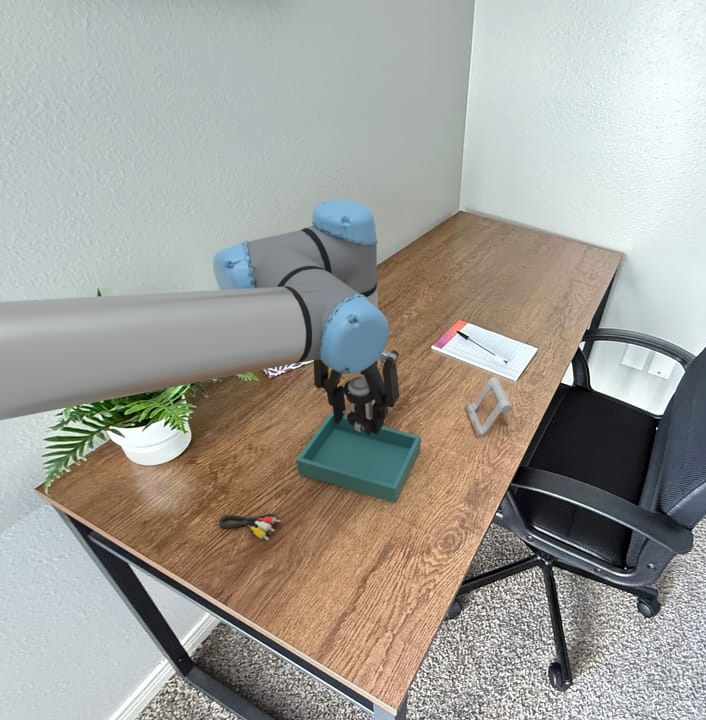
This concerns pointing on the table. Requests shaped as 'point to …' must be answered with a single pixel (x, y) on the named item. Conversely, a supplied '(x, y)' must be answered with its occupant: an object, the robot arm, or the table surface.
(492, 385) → the tablet stand
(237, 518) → the composite cable
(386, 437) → the tray
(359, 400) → the push button
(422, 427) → the table surface
